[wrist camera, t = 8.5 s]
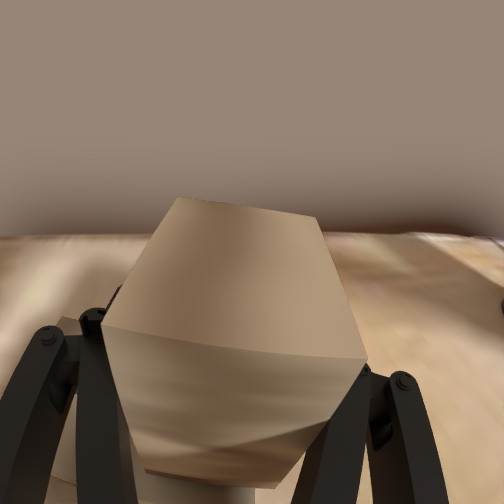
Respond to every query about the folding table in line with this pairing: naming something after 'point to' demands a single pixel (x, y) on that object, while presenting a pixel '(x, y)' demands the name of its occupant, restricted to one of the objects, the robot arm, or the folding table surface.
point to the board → (147, 486)
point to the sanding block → (231, 344)
